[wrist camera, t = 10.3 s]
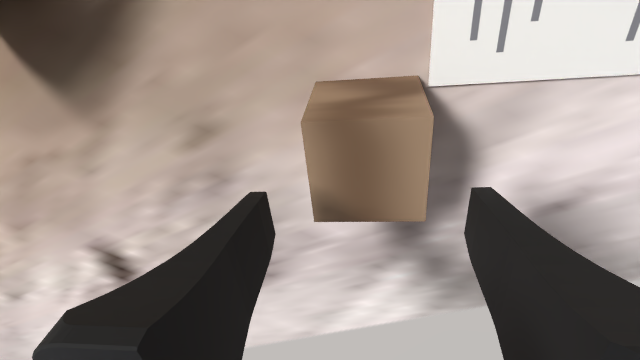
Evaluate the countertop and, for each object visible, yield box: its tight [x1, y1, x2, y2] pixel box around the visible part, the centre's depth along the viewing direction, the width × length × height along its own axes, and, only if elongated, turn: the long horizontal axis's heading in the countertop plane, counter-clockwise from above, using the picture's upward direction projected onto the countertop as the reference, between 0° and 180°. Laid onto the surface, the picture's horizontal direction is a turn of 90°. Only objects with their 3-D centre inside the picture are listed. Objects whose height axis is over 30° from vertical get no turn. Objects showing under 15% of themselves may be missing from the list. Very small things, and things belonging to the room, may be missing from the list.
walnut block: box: [301, 76, 434, 222], centre depth 17 cm, size 5×5×5 cm
